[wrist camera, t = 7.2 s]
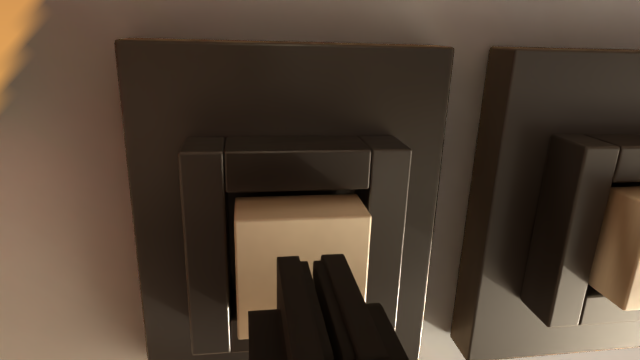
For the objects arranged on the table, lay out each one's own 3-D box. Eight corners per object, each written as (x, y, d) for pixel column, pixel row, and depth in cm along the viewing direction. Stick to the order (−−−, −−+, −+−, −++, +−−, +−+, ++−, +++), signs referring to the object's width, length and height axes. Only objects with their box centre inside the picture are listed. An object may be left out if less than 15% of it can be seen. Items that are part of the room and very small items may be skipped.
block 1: (127, 37, 14) (93, 41, 11) (434, 44, 16) (483, 50, 13) (158, 359, 18) (139, 432, 15) (404, 339, 20) (436, 402, 17)
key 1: (234, 196, 13) (233, 220, 12) (357, 193, 14) (372, 215, 12) (238, 305, 15) (237, 340, 13) (351, 297, 15) (364, 331, 13)
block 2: (489, 46, 16) (551, 51, 13) (733, 52, 18) (843, 58, 15) (449, 336, 20) (489, 397, 17) (653, 320, 22) (726, 373, 18)
